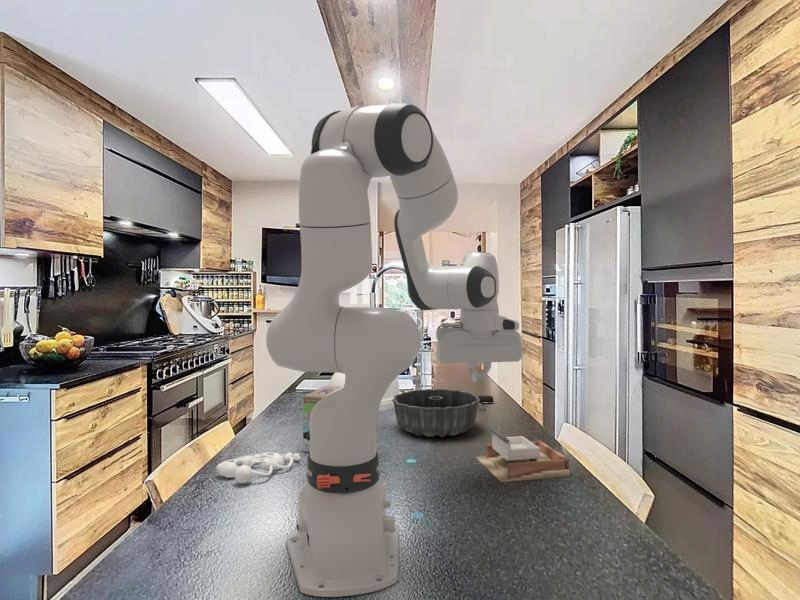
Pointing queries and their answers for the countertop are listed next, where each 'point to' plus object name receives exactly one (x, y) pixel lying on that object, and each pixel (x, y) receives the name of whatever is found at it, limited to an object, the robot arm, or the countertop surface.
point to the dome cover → (386, 401)
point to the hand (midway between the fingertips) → (479, 381)
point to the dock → (527, 465)
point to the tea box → (308, 406)
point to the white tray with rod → (514, 447)
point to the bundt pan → (436, 411)
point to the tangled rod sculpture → (245, 471)
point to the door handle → (484, 399)
